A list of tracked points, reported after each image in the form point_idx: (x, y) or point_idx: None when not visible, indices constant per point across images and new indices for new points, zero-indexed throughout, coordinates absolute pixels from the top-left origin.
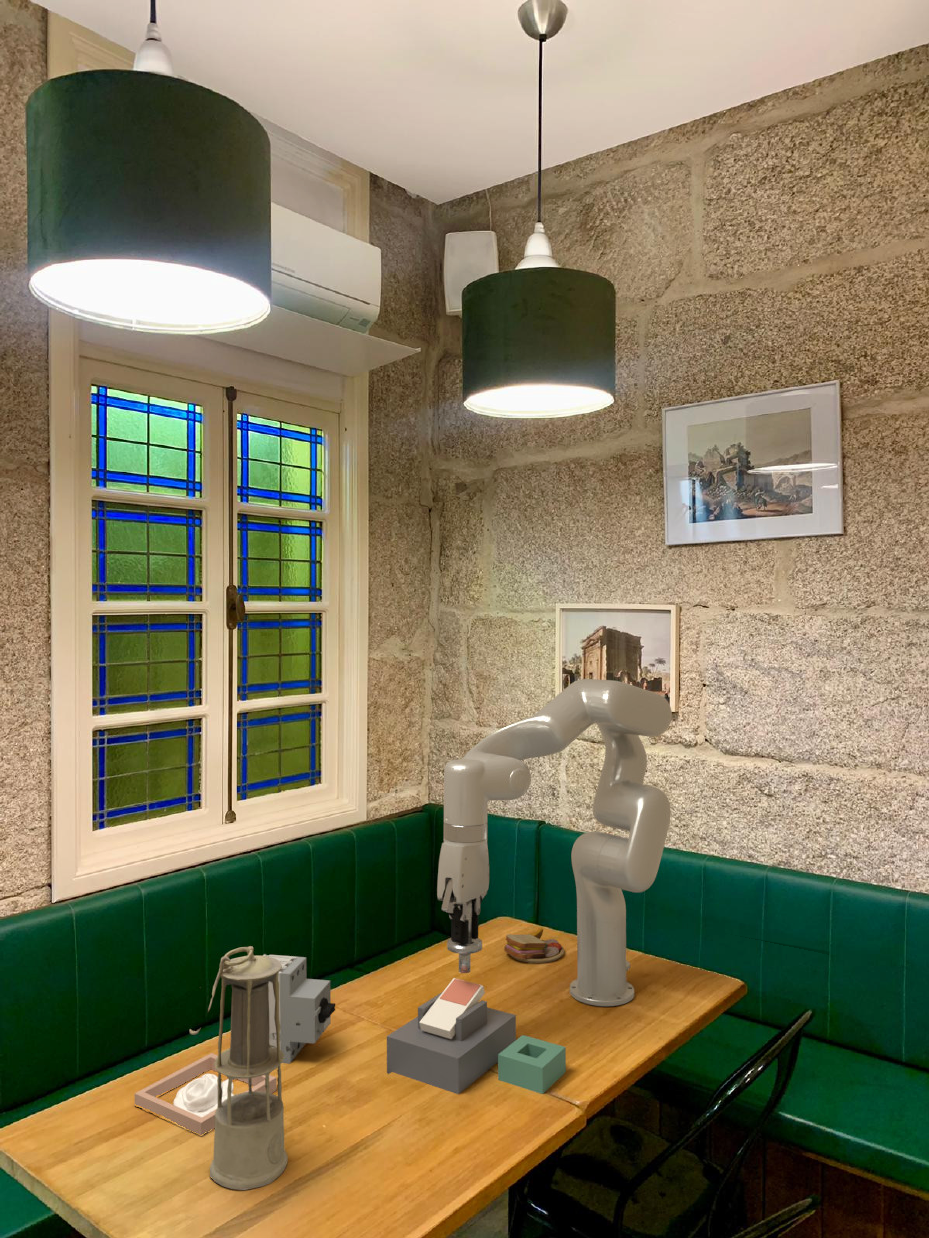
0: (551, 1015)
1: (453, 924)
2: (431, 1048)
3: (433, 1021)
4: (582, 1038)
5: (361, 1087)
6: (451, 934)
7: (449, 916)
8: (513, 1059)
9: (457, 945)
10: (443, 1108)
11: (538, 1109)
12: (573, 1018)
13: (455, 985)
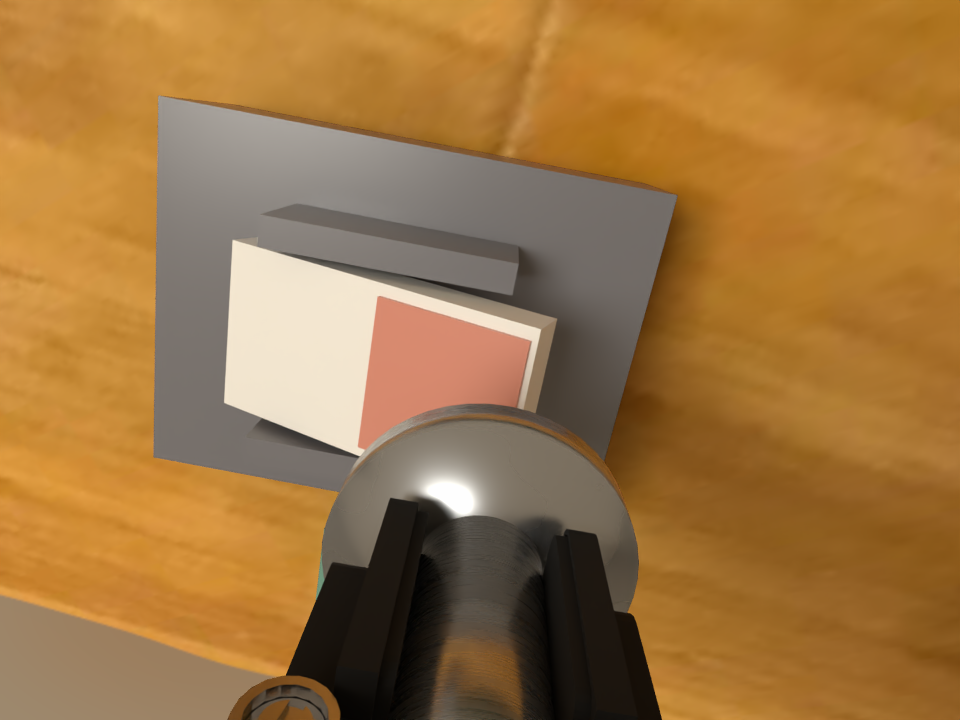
0: (873, 505)
1: (296, 660)
2: (169, 335)
3: (252, 310)
4: (717, 626)
5: (100, 62)
6: (381, 528)
7: (237, 704)
8: (318, 579)
9: (363, 547)
10: (142, 382)
11: (271, 607)
12: (863, 575)
13: (476, 360)
